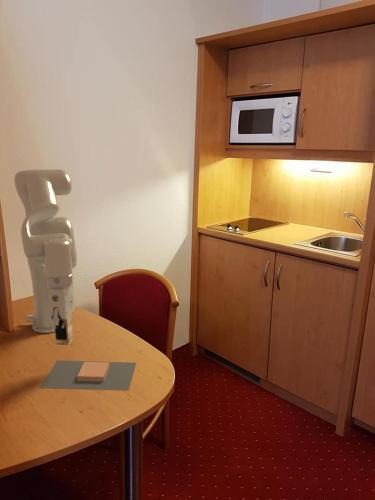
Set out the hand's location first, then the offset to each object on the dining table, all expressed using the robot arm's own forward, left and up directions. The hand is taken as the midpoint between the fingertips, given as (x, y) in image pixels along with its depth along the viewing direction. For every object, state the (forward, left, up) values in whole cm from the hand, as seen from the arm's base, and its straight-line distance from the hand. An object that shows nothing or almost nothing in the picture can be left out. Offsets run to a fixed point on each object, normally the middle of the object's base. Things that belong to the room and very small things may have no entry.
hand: (64, 335), depth 124 cm
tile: (+6, -4, -10) cm, 12 cm away
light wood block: (0, 0, -2) cm, 2 cm away
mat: (+9, -4, -11) cm, 15 cm away
